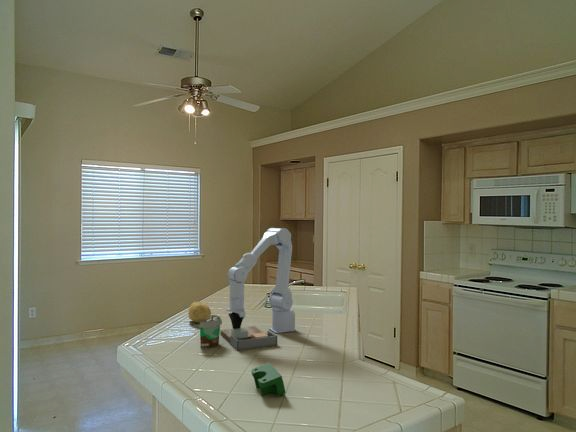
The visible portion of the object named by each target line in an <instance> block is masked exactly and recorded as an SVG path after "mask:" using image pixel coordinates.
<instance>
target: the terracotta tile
mask: <svg viewBox="0 0 576 432" xmlns="http://www.w3.org/2000/svg"><path fill="white" fill-rule="evenodd" d="M266 334H267V333H266ZM266 334H265V332H264V333H255V334H251V339H254V338H262V337H268V335H266Z"/></svg>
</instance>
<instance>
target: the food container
mask: <svg viewBox="0 0 576 432" xmlns="http://www.w3.org/2000/svg"><path fill="white" fill-rule="evenodd" d="M198 324H199V326H198V328H199V332H200V333H199V338H200V339H199V340H200V341H199V342H200V349H211V348H215V347H218V346H219V344H220V330H221V325H222V324H223V321H222V318H221V316H219V315H217V314H211V318H209V319H206V320H205V321H204V322H200V323H198Z"/></svg>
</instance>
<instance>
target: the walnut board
mask: <svg viewBox="0 0 576 432" xmlns="http://www.w3.org/2000/svg"><path fill="white" fill-rule="evenodd" d="M241 328H244V329H246V330H247V331H248V337H247V338H239V339H237V340H246V339H251V334H255V333H265V332H264V331H263V330H261V329H260V328H258V327H256V325H253V326H245V327H241ZM231 329H232V328H226V329H225V328H224V329H220V334H219V336H221V337H222V338H223V339H224V340H226V341H227V342H228V343H229V344H230V335H231ZM265 334H266V335H267V332H266V333H265Z"/></svg>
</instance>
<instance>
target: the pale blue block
mask: <svg viewBox="0 0 576 432" xmlns="http://www.w3.org/2000/svg"><path fill="white" fill-rule="evenodd" d="M230 329H231V335H232V336H233V337H235V338H236V339H239V338H247V337H248V331H247V330H246V329H244V328H242V327H240V328H237V329H233V328H230Z"/></svg>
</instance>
